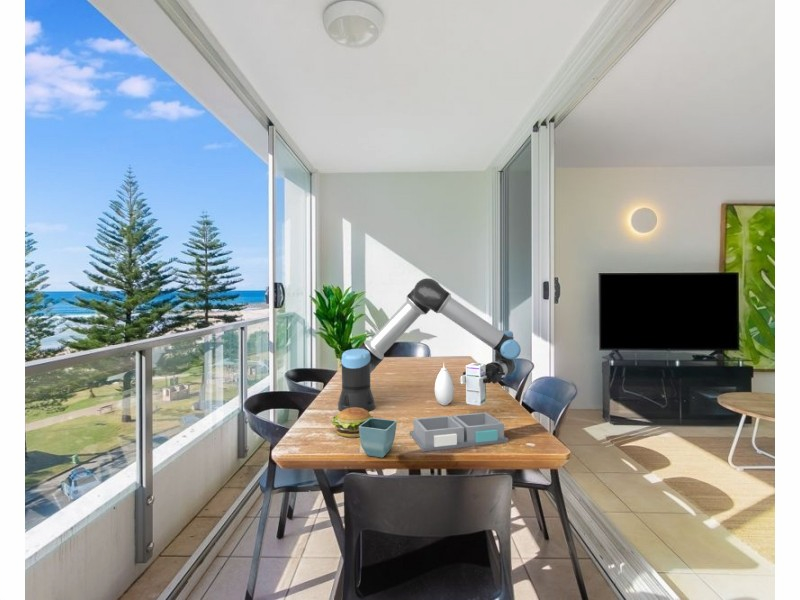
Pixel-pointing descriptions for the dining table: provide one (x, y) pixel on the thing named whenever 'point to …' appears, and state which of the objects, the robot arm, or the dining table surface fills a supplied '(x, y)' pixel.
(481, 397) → the syrup box
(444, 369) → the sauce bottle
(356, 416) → the food
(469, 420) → the sorting bin tray
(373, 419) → the flower pot
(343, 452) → the dining table surface
